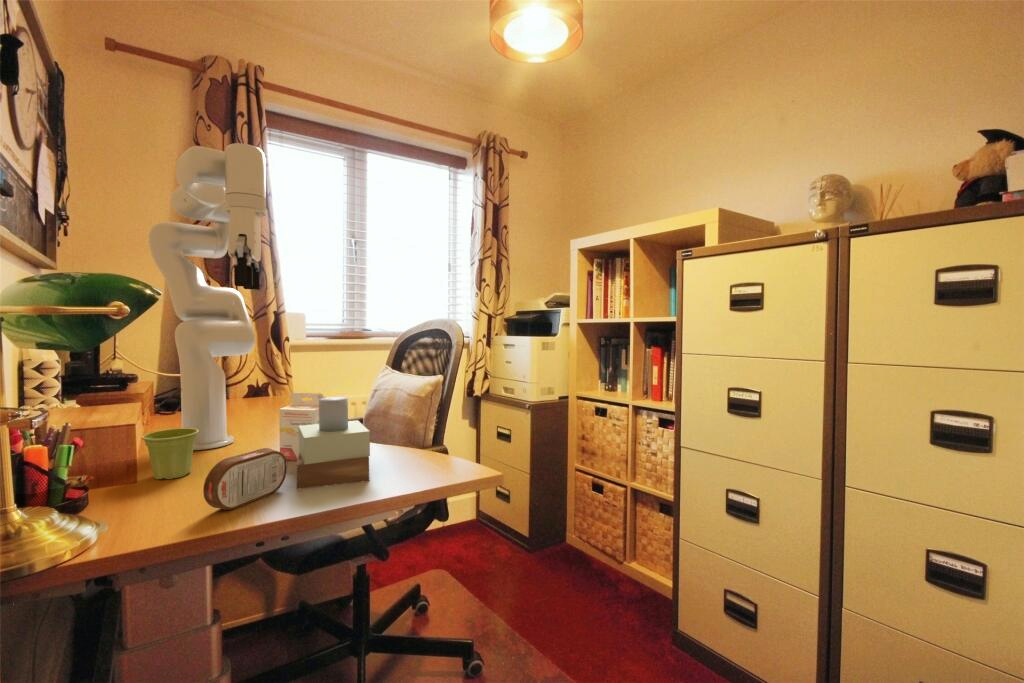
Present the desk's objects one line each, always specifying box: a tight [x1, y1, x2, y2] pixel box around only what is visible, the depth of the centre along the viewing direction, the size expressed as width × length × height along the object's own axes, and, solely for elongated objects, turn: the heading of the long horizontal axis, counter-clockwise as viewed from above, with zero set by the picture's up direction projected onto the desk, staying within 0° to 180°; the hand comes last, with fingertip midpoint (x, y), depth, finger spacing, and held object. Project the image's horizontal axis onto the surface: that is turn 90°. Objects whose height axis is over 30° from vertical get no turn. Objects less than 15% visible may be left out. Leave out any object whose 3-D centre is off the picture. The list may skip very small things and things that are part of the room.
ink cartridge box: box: [279, 392, 324, 462], centre depth 111 cm, size 9×5×15 cm, turn 84°
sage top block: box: [298, 420, 371, 464], centre depth 99 cm, size 12×12×5 cm
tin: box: [202, 447, 288, 511], centre depth 85 cm, size 15×3×8 cm, turn 159°
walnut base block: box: [296, 452, 370, 490], centre depth 99 cm, size 13×13×5 cm
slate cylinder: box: [319, 396, 349, 432], centre depth 99 cm, size 6×6×6 cm
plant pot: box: [141, 427, 199, 480], centre depth 99 cm, size 9×9×9 cm
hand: (247, 287), depth 104 cm, fingers open, 9 cm apart
